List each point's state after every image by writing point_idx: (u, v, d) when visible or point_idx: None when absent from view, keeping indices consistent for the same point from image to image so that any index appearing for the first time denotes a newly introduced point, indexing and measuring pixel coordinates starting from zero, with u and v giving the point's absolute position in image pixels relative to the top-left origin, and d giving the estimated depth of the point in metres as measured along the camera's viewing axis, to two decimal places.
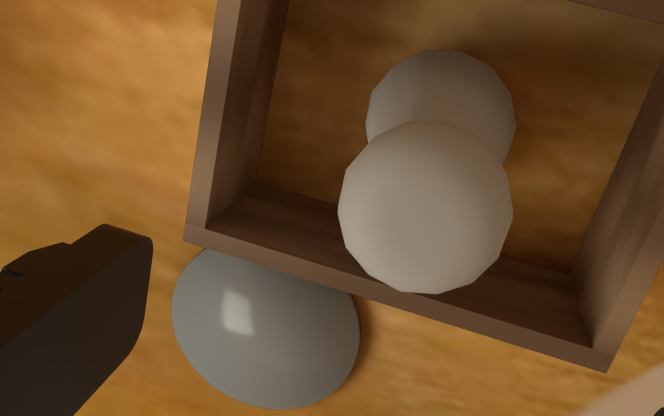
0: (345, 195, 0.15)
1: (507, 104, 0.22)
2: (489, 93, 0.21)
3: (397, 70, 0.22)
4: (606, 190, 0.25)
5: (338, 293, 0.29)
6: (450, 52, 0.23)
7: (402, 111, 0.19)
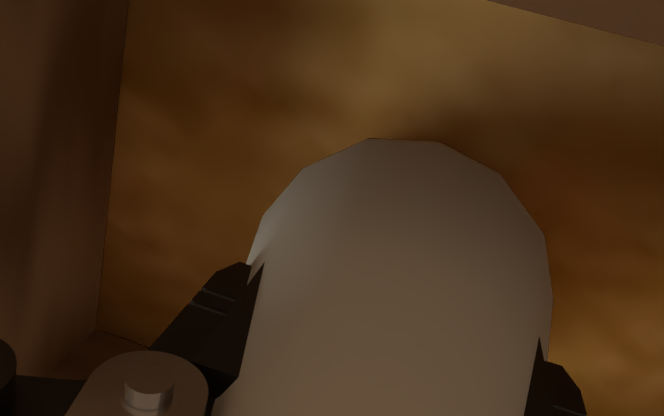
0: None
1: (538, 273, 0.10)
2: (500, 266, 0.09)
3: (305, 185, 0.11)
4: None
5: None
6: (416, 148, 0.11)
7: (262, 362, 0.07)
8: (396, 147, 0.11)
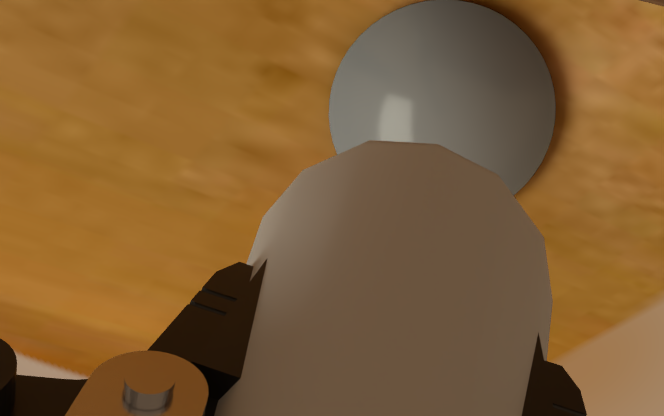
0: None
1: (538, 275, 0.10)
2: (499, 269, 0.09)
3: (304, 188, 0.11)
4: None
5: (537, 63, 0.26)
6: (416, 151, 0.11)
7: (261, 365, 0.07)
8: (396, 150, 0.11)
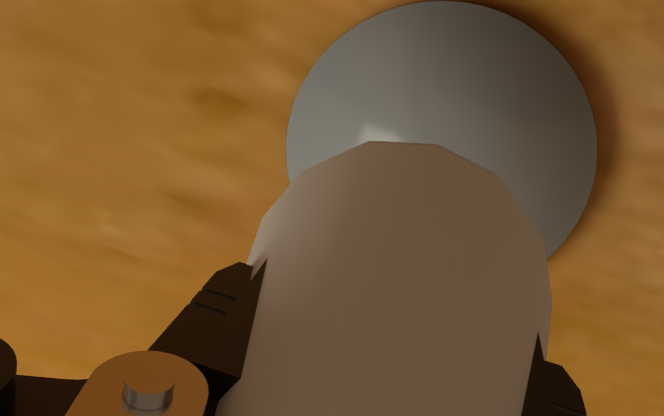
0: None
1: (537, 275, 0.10)
2: (499, 269, 0.09)
3: (304, 188, 0.11)
4: None
5: (572, 90, 0.18)
6: (415, 151, 0.11)
7: (261, 365, 0.07)
8: (395, 150, 0.11)
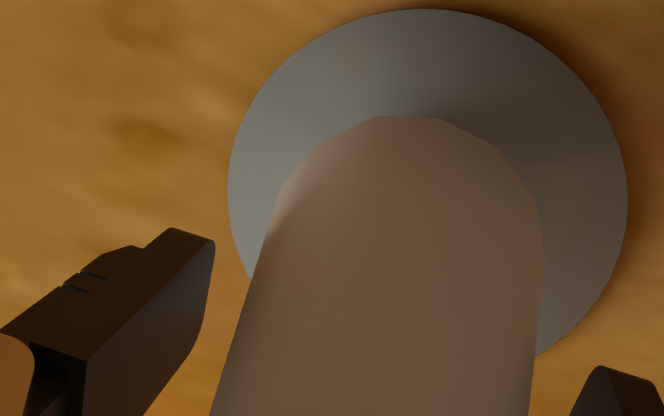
0: None
1: (531, 229, 0.11)
2: (498, 217, 0.10)
3: (321, 155, 0.12)
4: None
5: (595, 127, 0.14)
6: (421, 122, 0.12)
7: (297, 282, 0.08)
8: (403, 121, 0.12)
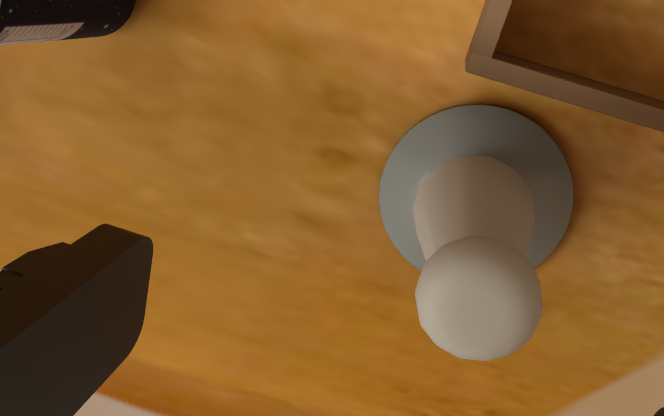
0: (423, 289, 0.21)
1: (529, 203, 0.28)
2: (517, 197, 0.27)
3: (443, 171, 0.29)
4: None
5: (559, 161, 0.31)
6: (485, 159, 0.29)
7: (454, 214, 0.25)
8: (477, 158, 0.29)
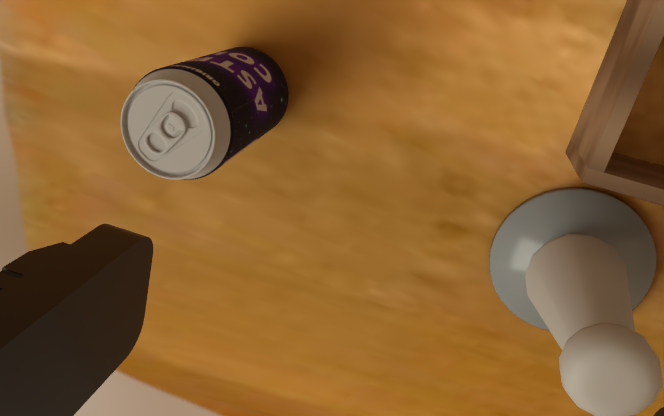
0: (570, 367, 0.27)
1: None
2: (620, 275, 0.33)
3: (554, 250, 0.35)
4: None
5: (644, 234, 0.37)
6: (588, 239, 0.35)
7: (576, 296, 0.31)
8: (581, 238, 0.35)
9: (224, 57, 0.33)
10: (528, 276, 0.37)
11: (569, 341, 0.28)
